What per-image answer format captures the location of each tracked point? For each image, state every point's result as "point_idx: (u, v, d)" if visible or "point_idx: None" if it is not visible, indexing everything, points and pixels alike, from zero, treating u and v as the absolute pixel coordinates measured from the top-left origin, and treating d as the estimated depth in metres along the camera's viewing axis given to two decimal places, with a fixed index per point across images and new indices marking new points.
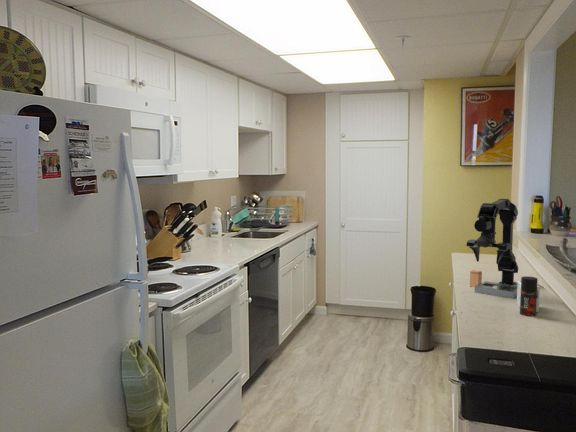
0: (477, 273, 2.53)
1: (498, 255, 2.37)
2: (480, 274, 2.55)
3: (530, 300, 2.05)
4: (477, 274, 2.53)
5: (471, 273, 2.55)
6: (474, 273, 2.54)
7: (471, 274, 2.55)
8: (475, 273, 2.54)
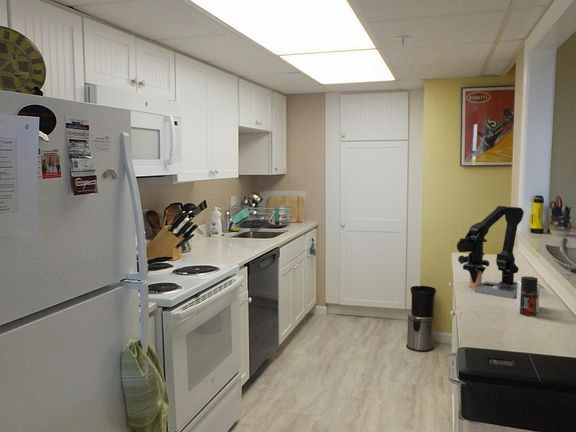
0: None
1: None
2: (480, 274, 2.55)
3: (530, 300, 2.05)
4: None
5: None
6: None
7: None
8: None
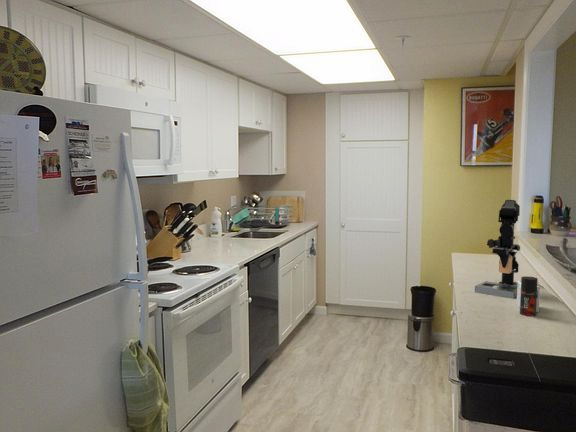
0: None
1: None
2: (511, 258, 2.41)
3: (530, 300, 2.05)
4: None
5: None
6: None
7: None
8: None
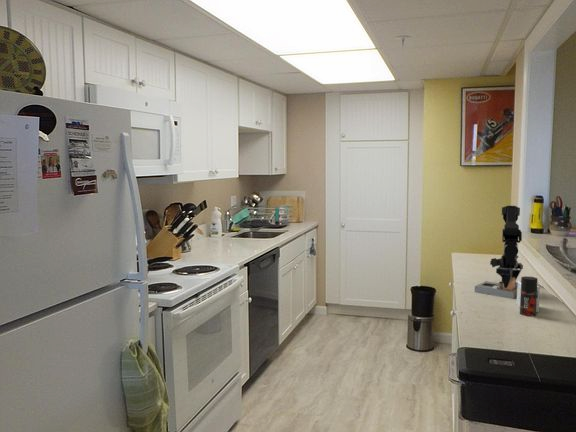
0: (511, 279, 2.39)
1: None
2: (514, 280, 2.41)
3: (530, 300, 2.05)
4: (511, 281, 2.39)
5: None
6: None
7: None
8: None
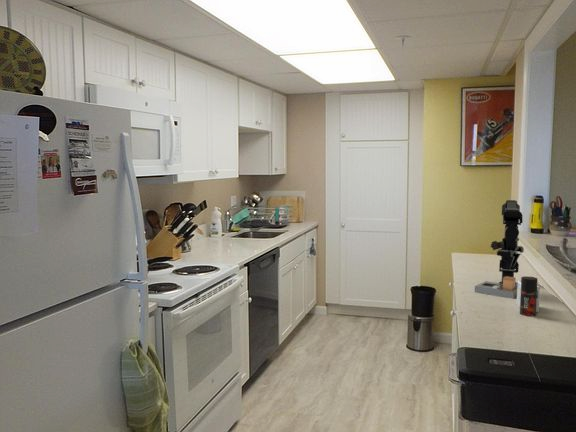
0: (511, 280, 2.39)
1: None
2: (514, 280, 2.41)
3: (530, 300, 2.05)
4: (511, 281, 2.39)
5: (504, 279, 2.41)
6: (507, 279, 2.40)
7: (504, 281, 2.41)
8: (508, 279, 2.39)
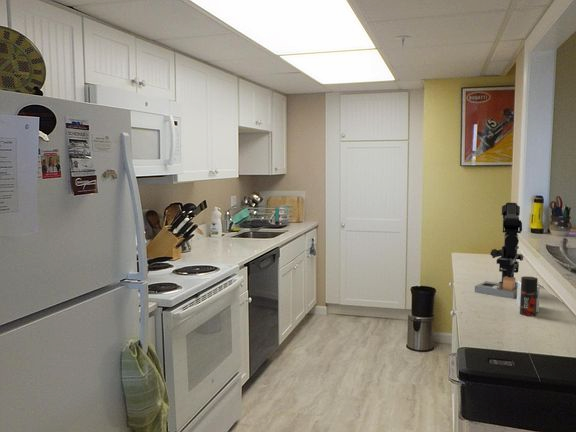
0: (511, 280, 2.39)
1: None
2: (514, 280, 2.41)
3: (530, 300, 2.05)
4: (511, 281, 2.39)
5: (504, 279, 2.41)
6: (507, 279, 2.40)
7: (504, 281, 2.41)
8: (508, 279, 2.39)
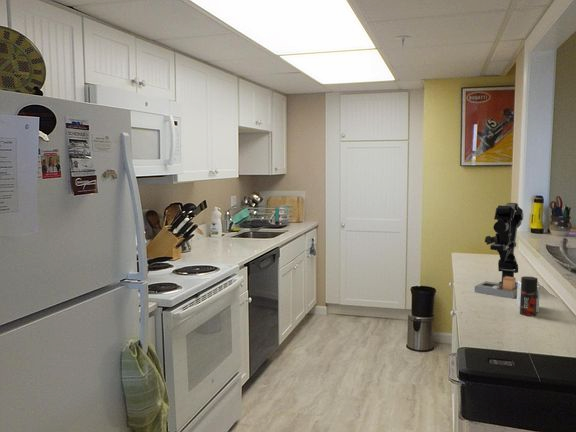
0: (511, 280, 2.39)
1: None
2: (514, 280, 2.41)
3: (530, 300, 2.05)
4: (511, 281, 2.39)
5: (504, 279, 2.41)
6: (507, 279, 2.40)
7: (504, 280, 2.41)
8: (508, 279, 2.39)
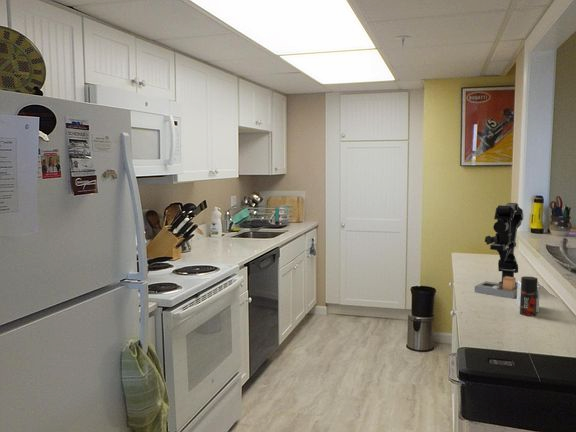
0: (511, 279, 2.39)
1: None
2: (514, 280, 2.41)
3: (530, 300, 2.05)
4: (511, 281, 2.39)
5: (504, 279, 2.41)
6: (507, 279, 2.40)
7: (504, 280, 2.41)
8: (508, 279, 2.39)
